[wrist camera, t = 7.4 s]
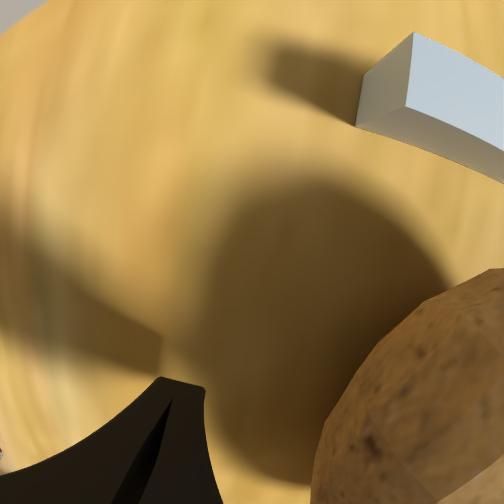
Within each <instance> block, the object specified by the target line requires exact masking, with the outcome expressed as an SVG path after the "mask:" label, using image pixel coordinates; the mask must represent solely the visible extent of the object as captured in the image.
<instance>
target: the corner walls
mask: <svg viewBox="0 0 504 504" xmlns="http://www.w3.org/2000/svg"><path fill="white" fill-rule="evenodd" d="M355 127H357V128H361V129H364V130H367V131H371V132H374V133H377V134H380V135H384V136H387V137H390V138H393V139H396V140H399V141H402V142H404V143H407V144H410V145H413V146H416V147H418V148H421V149H424V150H427V151H429V152H432V153H434V154H437V155H440V156H442V157H445V158H447V159H450V160H452V161H454V162H457V163H459V164H461V165H464V166H466V167H468V168H471V169H473V170H475V171H477V172H480V173H482V174H484V175H486V176H488V177H490V178H493V179H495V180H497V181H499V182H501V183H503V184H504V79H503V78H502V77H500V76H498V75H497V74H495V73H494V72H492V71H490V70H489V69H487V68H485V67H484V66H482V65H480V64H478V63H477V62H475V61H473V60H471V59H469V58H468V57H466V56H464V55H462V54H460V53H458V52H456V51H454V50H452V49H450V48H448V47H446V46H444V45H442V44H440V43H438V42H436V41H434V40H432V39H429V38H427V37H425V36H423V35H420V34H418V33H416V32H413V33H411V34H410V35H409V36H408V37H407V38H406V39H404V40H403V41H402V42H401V43H400V44H399V45H397V46H396V47H395V48H394V49H393V50H392V51H390V52H389V53H388V54H387V55H386V56H385V57H384V58H382V59H381V60H380V61H379V62H378V63H377V64H376V65H374V66H373V67H372V68H371V69H370V70H369V71H368V72H367V73H366V74H364V76H363V82H362V88H361V94H360V100H359V106H358V111H357V117H356V122H355Z"/></svg>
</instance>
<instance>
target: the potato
mask: <svg viewBox="0 0 504 504" xmlns="http://www.w3.org/2000/svg"><path fill="white" fill-rule="evenodd" d="M310 504H504V268H501V269H489V270H487V271H485V272H483V273H481V274H479V275H478V276H476V277H474V278H472V279H470V280H468V281H466V282H464V283H462V284H460V285H458V286H456V287H453V288H451V289H449V290H447V291H445V292H443V293H441V294H439V295H437V296H434V297H432V298H430V299H428V300H426V301H424V302H423V303H421V304H420V305H419V306H418V307H417V308H416V309H415V310H414V311H413V312H412V313H411V314H410V315H409V316H407V317H406V318H405V319H404V320H403V321H402V322H401V323H400V324H399V325H397V326H396V327H395V328H394V329H393V330H392V331H391V332H389V333H388V334H387V335H386V336H385V337H384V338H382V339H381V340H380V341H379V342H378V343H377V344H376V346H375V347H374V348H373V350H372V351H371V353H370V354H369V355H368V357H367V358H366V359H365V361H364V362H363V364H362V365H361V366H360V368H359V369H358V370H357V372H356V373H355V375H354V376H353V378H352V380H351V381H350V383H349V385H348V386H347V388H346V390H345V391H344V393H343V395H342V396H341V398H340V399H339V401H338V402H337V404H336V406H335V407H334V409H333V410H332V412H331V413H330V415H329V416H328V418H327V419H326V421H325V423H324V426H323V430H322V433H321V437H320V440H319V444H318V447H317V450H316V454H315V458H314V466H313V474H312V482H311V498H310Z"/></svg>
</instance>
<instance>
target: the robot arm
mask: <svg viewBox="0 0 504 504" xmlns="http://www.w3.org/2000/svg"><path fill="white" fill-rule="evenodd" d="M205 392H206V391H205V389H204V388H203V387H201V386H197V385H192V384H188V383H184V382H180V381H176V380H172V379H169V378H165V377H161V376H160V377H158V378H157V379H156V380H155V381H154V382H153V383H152V384H151V385H150V386H149V387H148V388H147V389H146V390H145V391H144V392H143V393H142V394H141V395H140V396H139V397H138V398H136V399H135V400H134V401H133V402H132V403H131V404H130V405H129V406H127V407H126V408H125V409H124V410H123V411H121V412H120V413H119V414H118V415H117V416H115V417H114V418H113V419H112V420H110V421H109V422H108V423H106V424H105V425H103V426H102V427H101V428H99V429H98V430H96V431H95V432H94V433H92V434H91V435H89V436H88V437H86V438H85V439H83V440H81V441H80V442H78V443H77V444H75V445H73V446H71V447H70V448H68V449H66V450H64V451H62V452H60V453H58V454H56V455H54V456H52V457H50V458H48V459H46V460H44V461H41V462H39V463H37V464H34V465H32V466H29V467H27V468H24V469H21V470H18V471H14V472H11V473H8V474H5V475H1V476H0V504H223V501H222V499H221V496H220V493H219V490H218V487H217V484H216V481H215V477H214V474H213V470H212V466H211V462H210V457H209V453H208V447H207V441H206V434H205V426H204V398H205Z"/></svg>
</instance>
